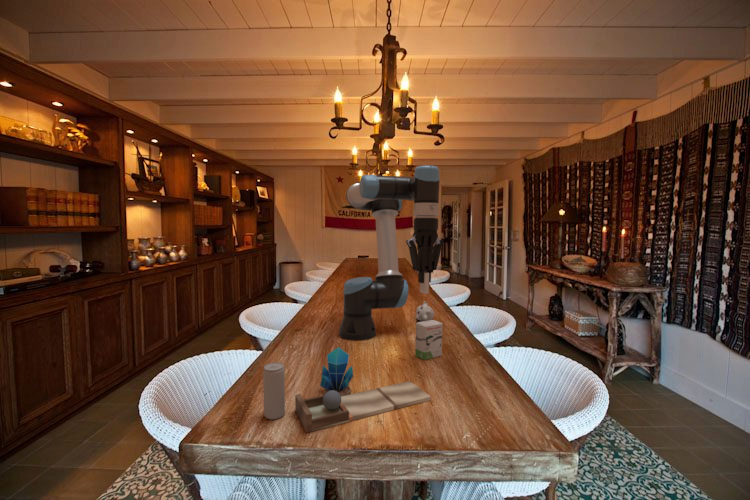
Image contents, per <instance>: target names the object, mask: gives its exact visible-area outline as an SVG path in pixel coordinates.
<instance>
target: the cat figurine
mask: <svg viewBox="0 0 750 500" xmlns="http://www.w3.org/2000/svg"><path fill="white" fill-rule="evenodd" d="M422 302H423V303H421V304H420V305H419V306H417V308H416V314H415V316H414V317H415V319H416V320H418V321H419V322H423V321H429V320H434V316H435V311H434V310H433V308H432V307H431V306H429V305H428V301H425V300H423V301H422Z"/></svg>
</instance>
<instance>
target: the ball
mask: <svg viewBox="0 0 750 500" xmlns="http://www.w3.org/2000/svg"><path fill="white" fill-rule="evenodd" d="M323 395H324V394H323ZM323 404H324V406H325V408H327V409H328V410H335V409H337V408H338V407H339V406H340V404H341V396H340V394H339V393H338V392H337V391H335V390H330V391H328V392H327V393H326V394H325V395H324V397H323Z"/></svg>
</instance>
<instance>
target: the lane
mask: <svg viewBox="0 0 750 500" xmlns="http://www.w3.org/2000/svg"><path fill="white" fill-rule="evenodd" d="M294 395H295V399H294V400H295V401H294V406H295V413H296V415H297V416H298V418H299V421H300V423H301V425H302V427H303V429H304V430H305V433H306V434H307V433H312V432H315V431H319V430H323V429H326V428H330V427H335V426H338V425H341V424H346V423H349V422H350V423H351V422H353V421H357V420H361V419H365V418H369V417H372V416H376V415H378V414H379V415H380V414H383V413H387V412H392V411H395V410H399V409H402V408H406V407H410V406H413V405H417V404H421V403H422V404H423V403H425V402H429V401H431V398H432V397H431V396H430V395H429V394H428V393H426V392H425V391H424V390H422V389H421V387H419V386H417V385H416V384H414V382H412V381H410V380H409V381H403V382H400V383H395V384H391V385H386V386H382V387H378V388H377V387H376V388H373V389H368V390H365V391H359V392H355V393H354V392H353V393H350V394H349V395H346V396H341V404H340V406H339V407H338V408H337V409H335V410H328V409H327V408H325V406H324V404H323V397H324V394H323V395H318V396H313V397H309V398H305V399H304V398H303V396H302V395H301V393H299V394H294Z"/></svg>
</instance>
